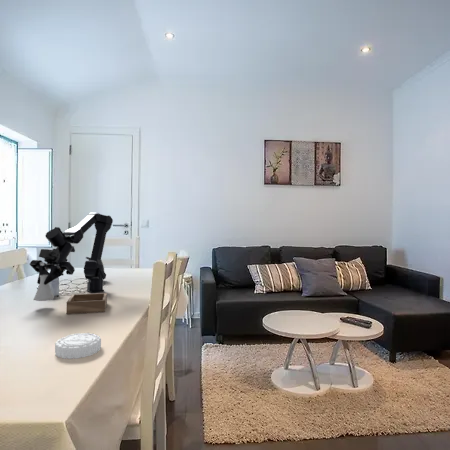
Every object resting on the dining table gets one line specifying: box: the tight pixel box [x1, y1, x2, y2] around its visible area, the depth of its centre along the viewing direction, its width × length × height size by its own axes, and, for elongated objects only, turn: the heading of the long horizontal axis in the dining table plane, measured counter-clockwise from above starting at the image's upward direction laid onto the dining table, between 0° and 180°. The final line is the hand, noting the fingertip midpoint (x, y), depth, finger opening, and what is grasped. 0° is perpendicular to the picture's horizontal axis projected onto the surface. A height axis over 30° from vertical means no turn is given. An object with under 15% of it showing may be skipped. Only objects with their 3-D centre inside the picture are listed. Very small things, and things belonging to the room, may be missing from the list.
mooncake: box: [54, 332, 102, 360], centre depth 97 cm, size 12×12×4 cm
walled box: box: [65, 292, 108, 315], centre depth 141 cm, size 14×14×5 cm
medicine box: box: [49, 277, 60, 297], centre depth 163 cm, size 8×4×9 cm, turn 71°
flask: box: [33, 275, 55, 302], centre depth 141 cm, size 7×7×10 cm
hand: (41, 283), depth 139 cm, fingers closed on flask, 3 cm apart
